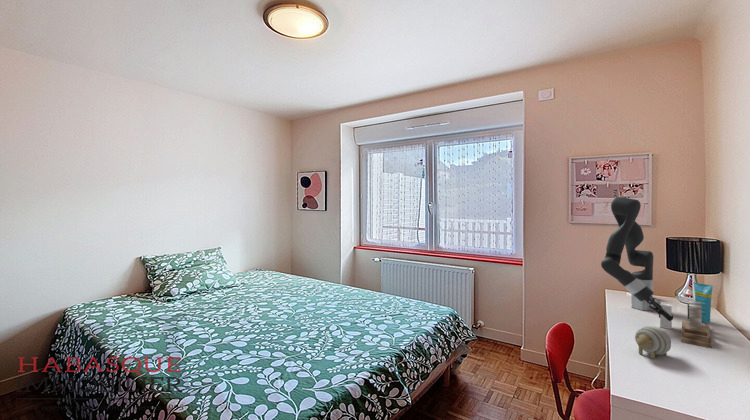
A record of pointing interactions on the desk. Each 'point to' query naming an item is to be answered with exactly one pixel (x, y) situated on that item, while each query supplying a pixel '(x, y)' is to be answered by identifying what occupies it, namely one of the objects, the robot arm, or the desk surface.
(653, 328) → the toy sheep
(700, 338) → the rail
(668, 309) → the grey finger
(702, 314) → the tube
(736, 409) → the desk surface
